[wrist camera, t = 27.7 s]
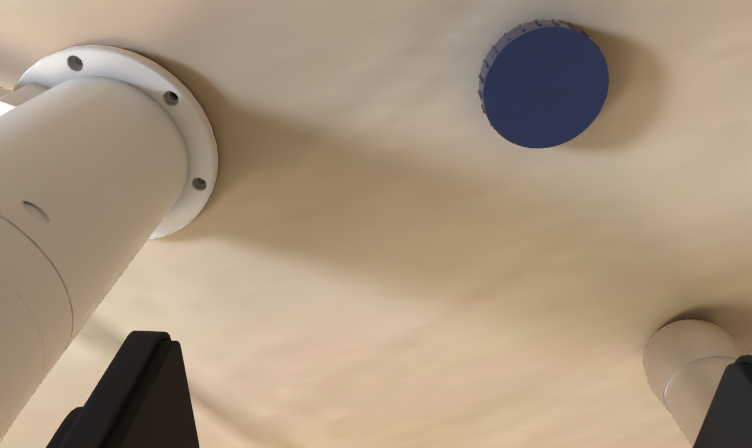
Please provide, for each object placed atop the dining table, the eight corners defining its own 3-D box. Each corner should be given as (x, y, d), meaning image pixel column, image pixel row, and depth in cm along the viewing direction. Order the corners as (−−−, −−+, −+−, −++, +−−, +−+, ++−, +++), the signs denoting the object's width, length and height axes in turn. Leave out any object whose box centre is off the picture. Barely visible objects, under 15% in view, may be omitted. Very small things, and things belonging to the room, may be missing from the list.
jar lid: (606, 120, 35) (616, 131, 33) (491, 150, 36) (495, 162, 34) (591, 2, 31) (601, 8, 30) (465, 40, 33) (469, 48, 31)
